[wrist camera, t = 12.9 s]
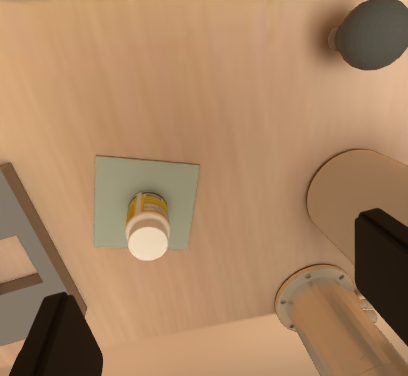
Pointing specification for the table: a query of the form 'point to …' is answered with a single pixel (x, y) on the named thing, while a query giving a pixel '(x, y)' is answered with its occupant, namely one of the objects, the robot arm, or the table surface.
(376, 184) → the cylinder vase
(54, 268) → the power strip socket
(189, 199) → the rubber mat
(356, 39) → the light bulb
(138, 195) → the supplement bottle
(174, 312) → the table surface
